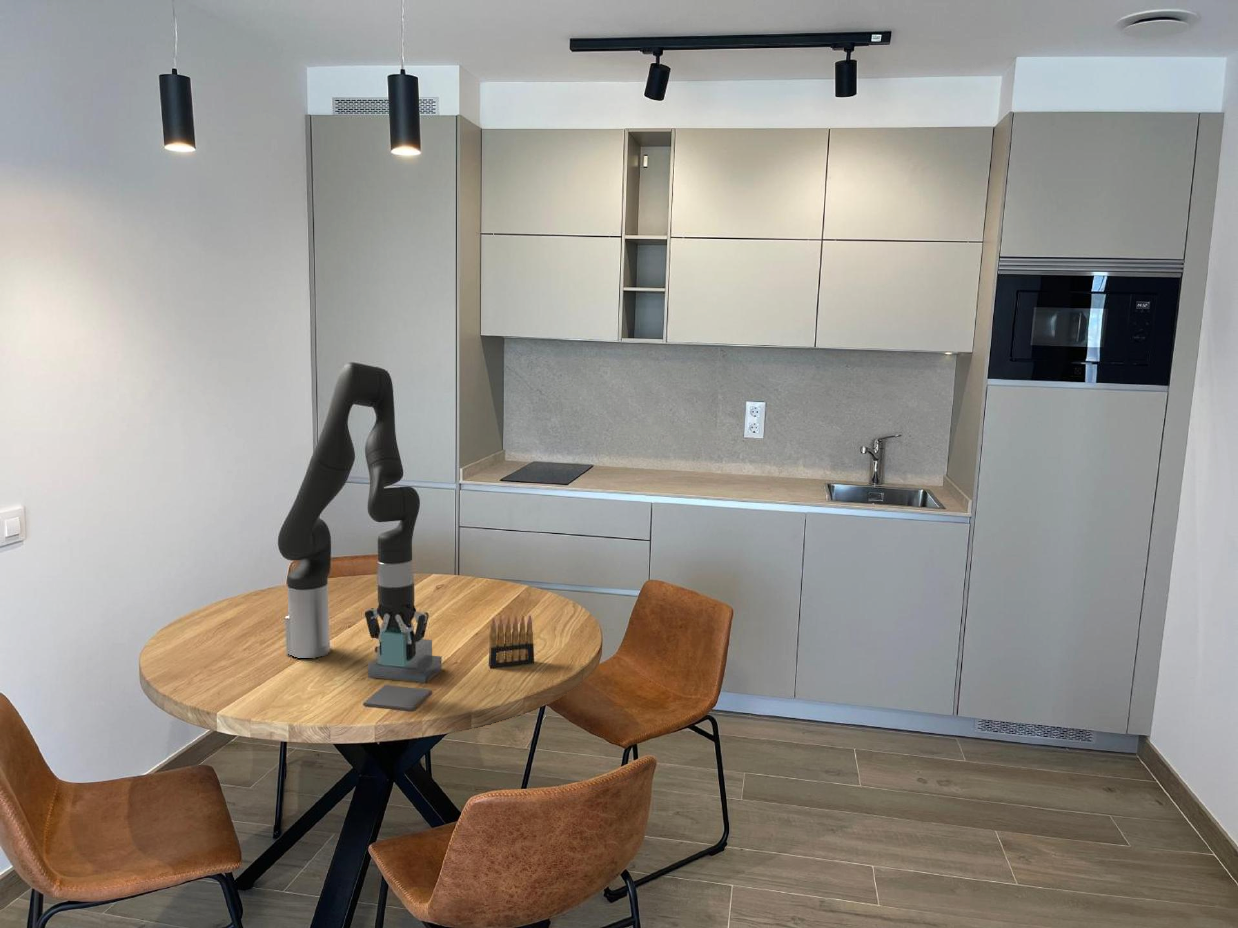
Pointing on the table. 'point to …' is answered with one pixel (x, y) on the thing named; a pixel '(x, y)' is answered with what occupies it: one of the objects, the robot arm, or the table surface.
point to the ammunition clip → (511, 644)
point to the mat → (397, 697)
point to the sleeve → (394, 648)
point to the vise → (409, 665)
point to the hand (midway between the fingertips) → (397, 657)
